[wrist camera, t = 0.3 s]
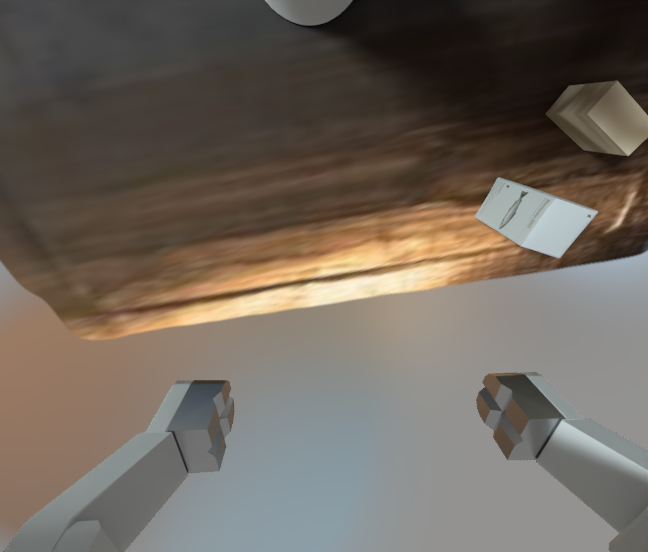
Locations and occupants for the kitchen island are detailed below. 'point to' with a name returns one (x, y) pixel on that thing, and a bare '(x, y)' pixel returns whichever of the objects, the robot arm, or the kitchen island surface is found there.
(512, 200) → the supplement box
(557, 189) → the kitchen island surface
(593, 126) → the block
